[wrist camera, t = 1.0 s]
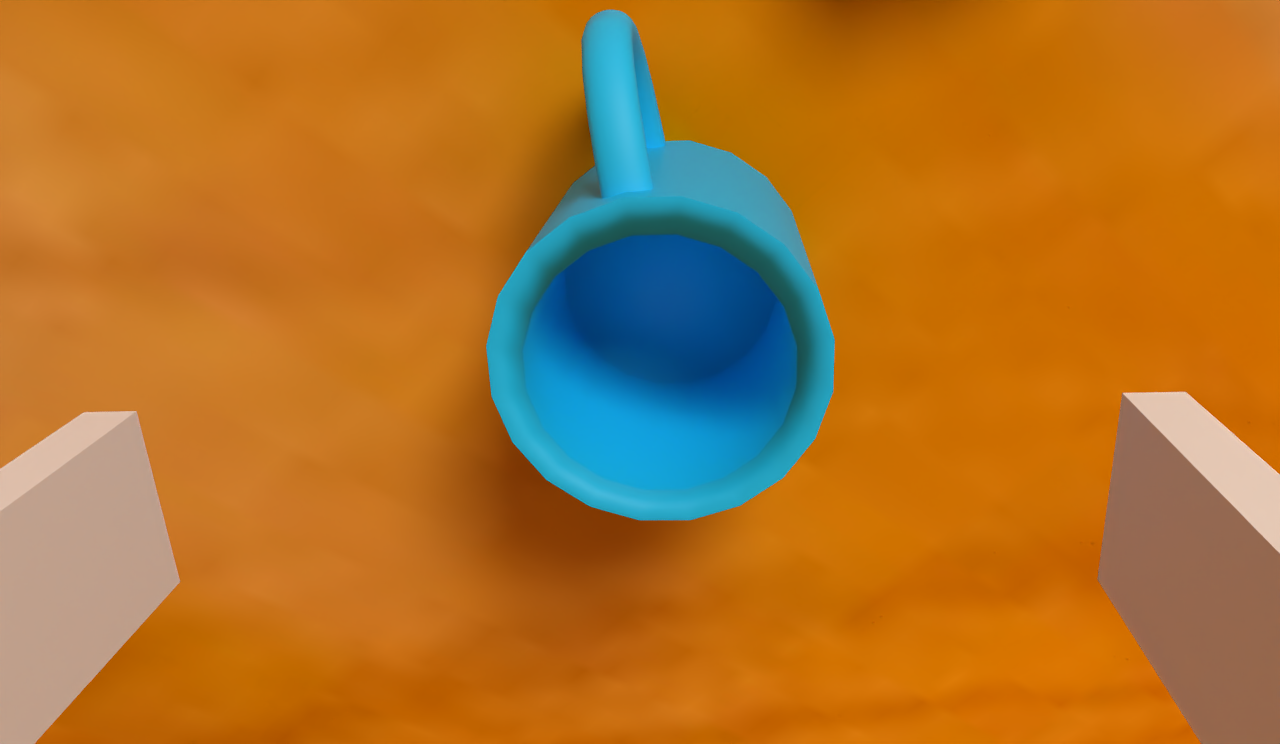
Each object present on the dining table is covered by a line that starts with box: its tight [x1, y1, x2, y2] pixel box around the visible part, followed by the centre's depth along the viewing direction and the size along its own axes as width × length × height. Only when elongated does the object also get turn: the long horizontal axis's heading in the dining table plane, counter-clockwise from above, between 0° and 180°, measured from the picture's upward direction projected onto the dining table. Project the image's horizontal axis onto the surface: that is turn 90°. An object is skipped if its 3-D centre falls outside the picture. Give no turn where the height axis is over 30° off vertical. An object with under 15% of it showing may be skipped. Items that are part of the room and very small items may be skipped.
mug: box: [486, 10, 835, 520], centre depth 26 cm, size 12×8×8 cm
